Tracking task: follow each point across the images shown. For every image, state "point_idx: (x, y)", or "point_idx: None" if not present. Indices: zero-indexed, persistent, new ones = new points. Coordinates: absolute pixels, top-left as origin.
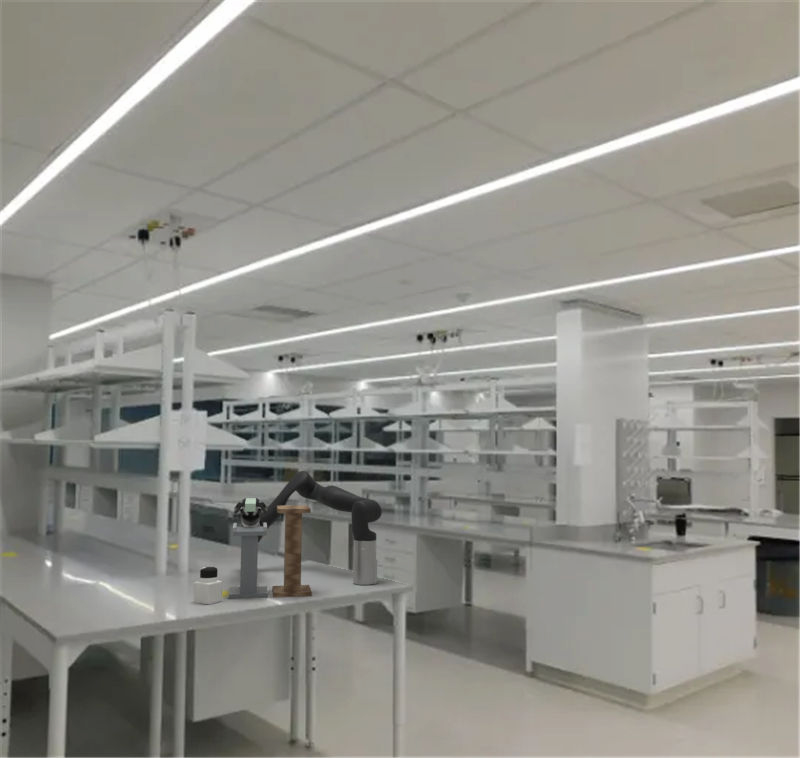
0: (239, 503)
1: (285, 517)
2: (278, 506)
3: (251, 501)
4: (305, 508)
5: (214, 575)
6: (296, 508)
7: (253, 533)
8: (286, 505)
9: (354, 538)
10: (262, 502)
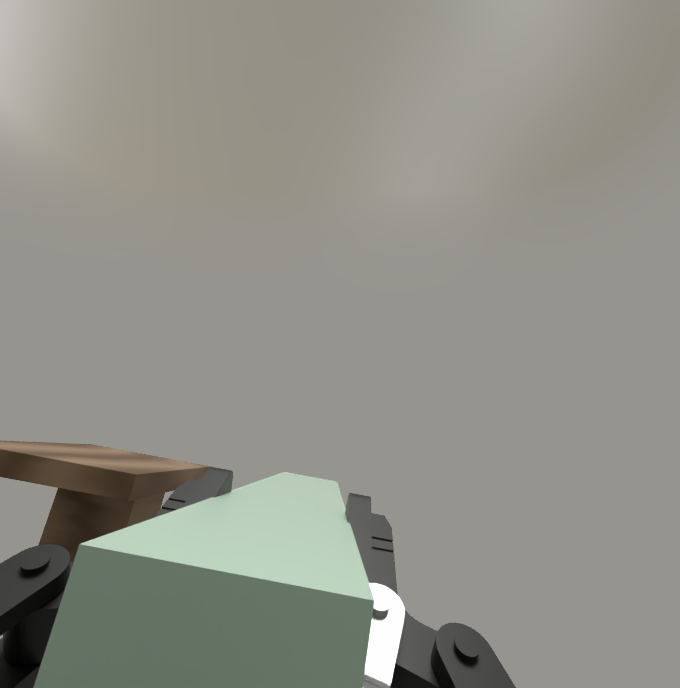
0: (453, 642)
1: (148, 505)
2: (158, 470)
3: (296, 484)
4: (101, 447)
5: None
6: (133, 453)
7: None
8: (78, 463)
9: None
10: (51, 551)
